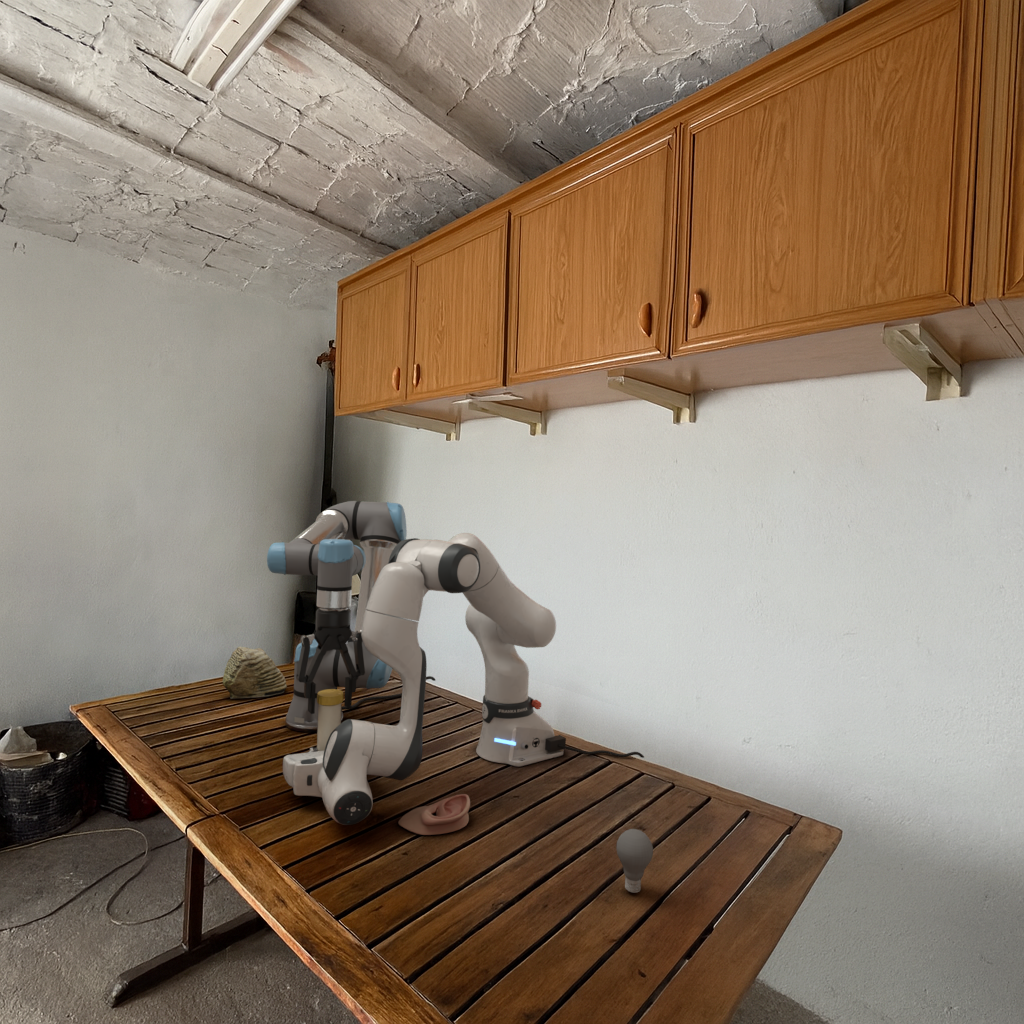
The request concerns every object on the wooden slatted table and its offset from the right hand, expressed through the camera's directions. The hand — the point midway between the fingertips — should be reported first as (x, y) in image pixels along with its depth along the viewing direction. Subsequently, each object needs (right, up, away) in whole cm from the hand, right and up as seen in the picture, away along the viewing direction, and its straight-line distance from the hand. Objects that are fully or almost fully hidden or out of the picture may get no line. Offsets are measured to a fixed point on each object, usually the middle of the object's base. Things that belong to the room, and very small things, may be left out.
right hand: (327, 748), depth 144 cm
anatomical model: (+26, -8, -18) cm, 33 cm away
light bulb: (+62, -10, -38) cm, 73 cm away
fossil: (-39, -4, +54) cm, 67 cm away
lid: (+1, +13, -1) cm, 13 cm away
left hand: (+1, +9, -1) cm, 9 cm away
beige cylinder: (0, -6, -1) cm, 6 cm away
